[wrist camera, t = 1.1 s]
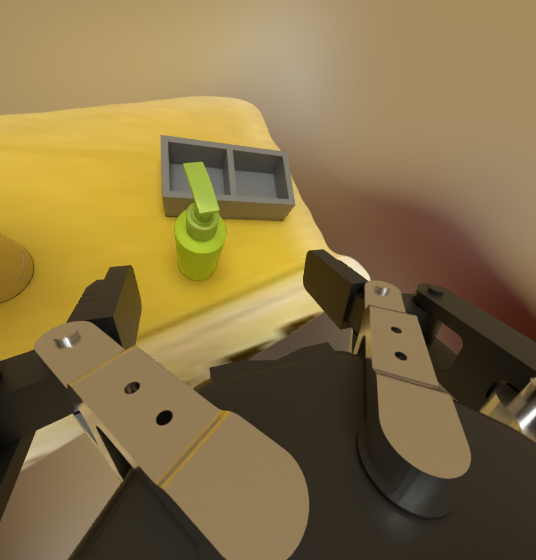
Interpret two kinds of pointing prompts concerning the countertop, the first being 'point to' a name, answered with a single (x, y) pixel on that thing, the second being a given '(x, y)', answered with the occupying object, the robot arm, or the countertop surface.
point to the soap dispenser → (199, 227)
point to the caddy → (228, 179)
